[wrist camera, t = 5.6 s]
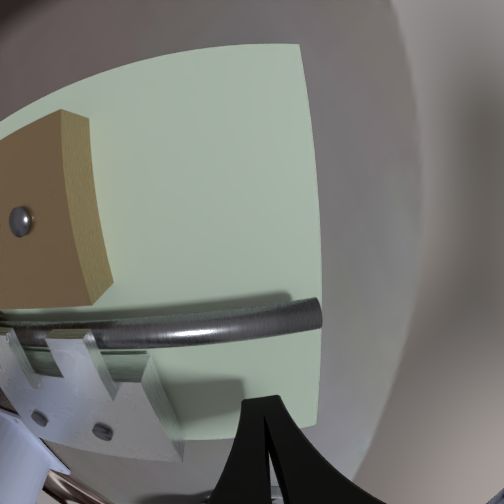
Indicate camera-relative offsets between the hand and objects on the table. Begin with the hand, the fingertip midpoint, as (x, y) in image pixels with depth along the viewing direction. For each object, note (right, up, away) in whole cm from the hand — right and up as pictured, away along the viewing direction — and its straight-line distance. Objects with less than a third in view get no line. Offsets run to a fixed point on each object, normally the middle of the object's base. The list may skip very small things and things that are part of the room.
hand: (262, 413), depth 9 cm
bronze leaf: (-7, +6, -1) cm, 9 cm away
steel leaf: (-8, 0, 0) cm, 8 cm away
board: (-7, +4, 0) cm, 8 cm away
